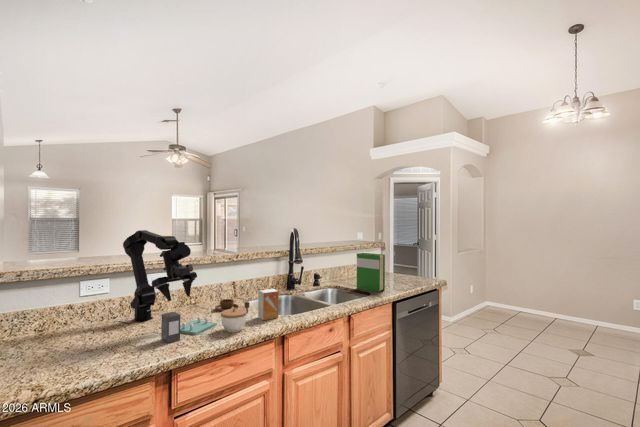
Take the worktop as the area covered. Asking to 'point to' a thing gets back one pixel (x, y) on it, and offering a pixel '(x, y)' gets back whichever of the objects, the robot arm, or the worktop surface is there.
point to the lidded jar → (233, 319)
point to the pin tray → (196, 326)
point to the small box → (268, 304)
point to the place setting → (229, 305)
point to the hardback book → (371, 272)
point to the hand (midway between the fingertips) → (179, 298)
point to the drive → (170, 327)
